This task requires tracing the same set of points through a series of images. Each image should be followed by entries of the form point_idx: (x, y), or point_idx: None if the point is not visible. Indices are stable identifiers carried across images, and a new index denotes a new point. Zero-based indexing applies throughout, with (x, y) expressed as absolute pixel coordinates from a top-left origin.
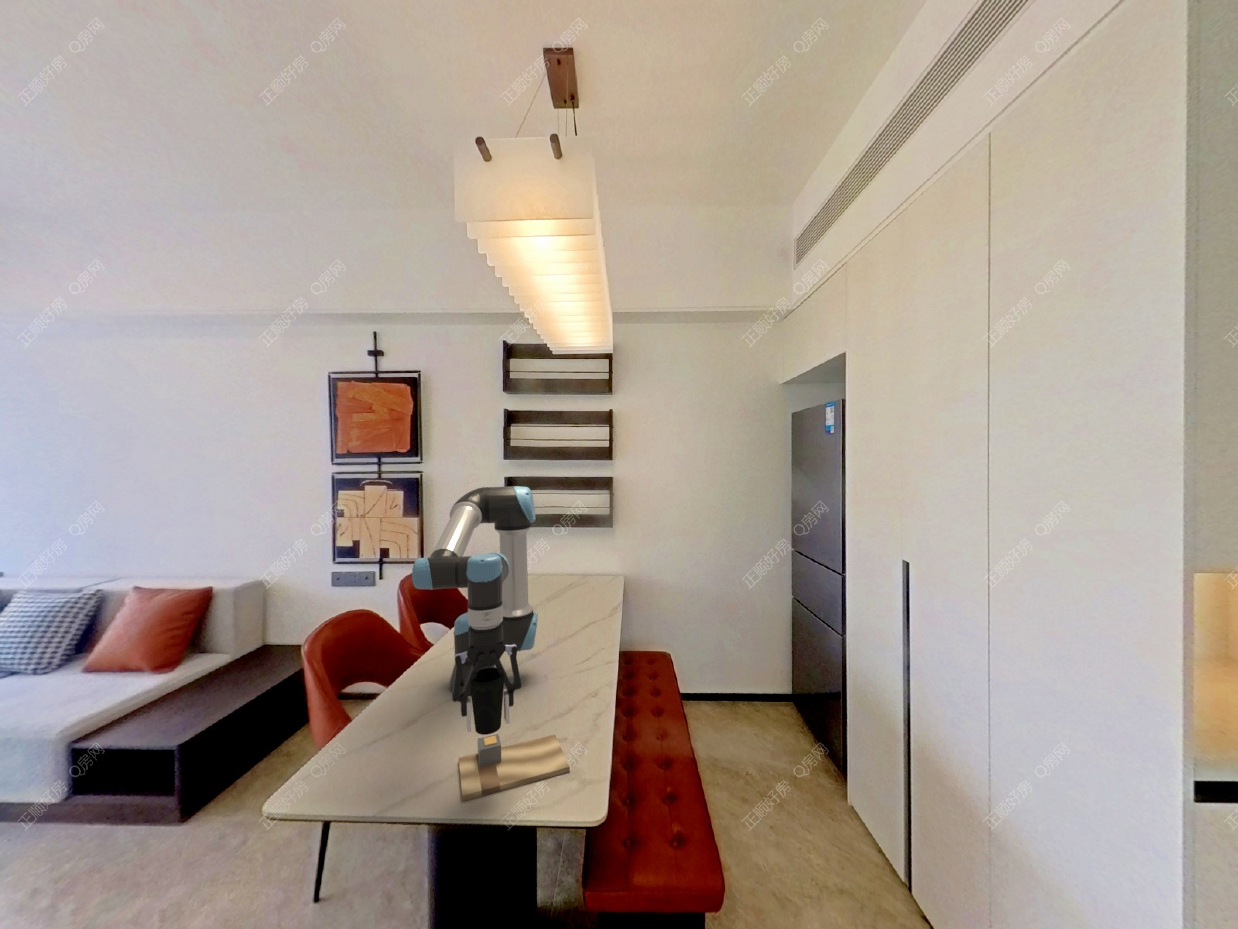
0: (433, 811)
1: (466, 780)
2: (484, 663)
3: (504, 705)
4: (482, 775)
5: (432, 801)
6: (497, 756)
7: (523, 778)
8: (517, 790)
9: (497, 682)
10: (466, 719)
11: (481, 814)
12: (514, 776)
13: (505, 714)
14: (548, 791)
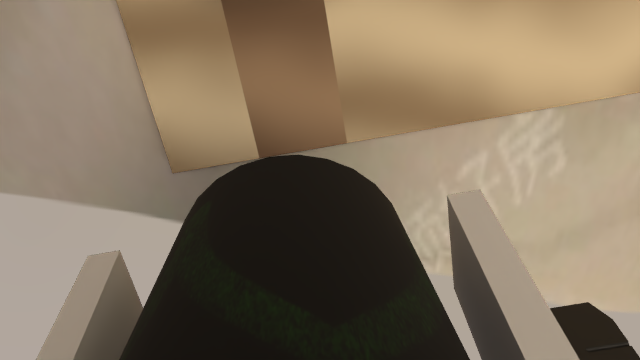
0: (61, 192)
1: (167, 70)
2: None
3: (493, 327)
4: (249, 48)
5: (30, 132)
6: None
7: (462, 117)
8: (422, 143)
9: None
10: (67, 301)
11: None
12: (419, 93)
13: (474, 327)
14: (554, 176)
